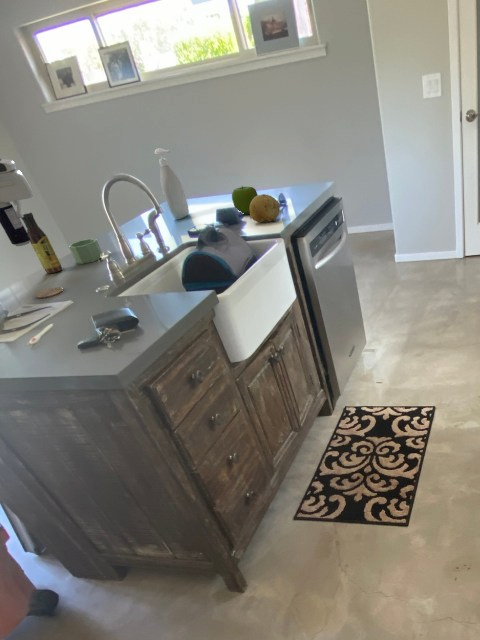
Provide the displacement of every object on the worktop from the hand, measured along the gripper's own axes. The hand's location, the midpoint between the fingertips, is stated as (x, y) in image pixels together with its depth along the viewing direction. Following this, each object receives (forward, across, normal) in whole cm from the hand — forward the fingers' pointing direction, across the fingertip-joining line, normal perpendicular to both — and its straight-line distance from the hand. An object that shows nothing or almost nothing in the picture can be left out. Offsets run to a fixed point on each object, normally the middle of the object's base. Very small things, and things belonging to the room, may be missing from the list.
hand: (9, 219), depth 162 cm
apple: (+23, +74, +63) cm, 100 cm away
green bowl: (+23, +8, +37) cm, 44 cm away
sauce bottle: (+23, -4, +29) cm, 37 cm away
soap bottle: (+23, +44, +83) cm, 97 cm away
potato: (+23, +80, +40) cm, 92 cm away
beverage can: (+7, 0, 0) cm, 7 cm away
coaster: (+23, 0, 0) cm, 23 cm away
